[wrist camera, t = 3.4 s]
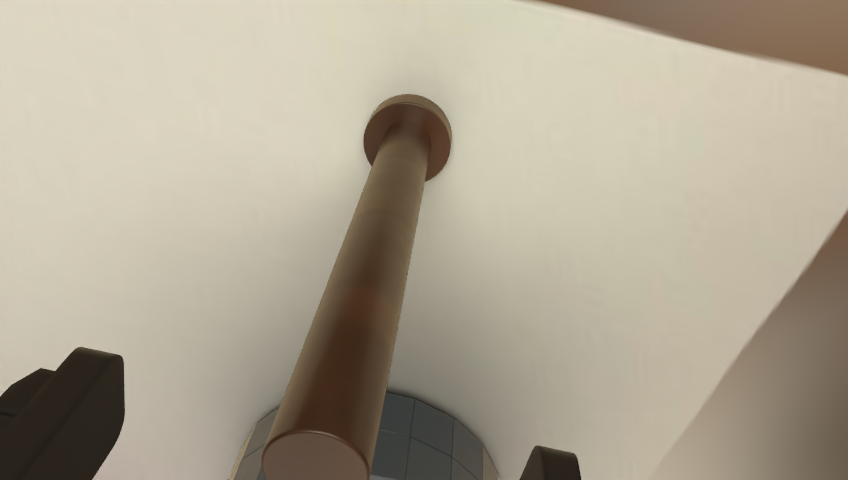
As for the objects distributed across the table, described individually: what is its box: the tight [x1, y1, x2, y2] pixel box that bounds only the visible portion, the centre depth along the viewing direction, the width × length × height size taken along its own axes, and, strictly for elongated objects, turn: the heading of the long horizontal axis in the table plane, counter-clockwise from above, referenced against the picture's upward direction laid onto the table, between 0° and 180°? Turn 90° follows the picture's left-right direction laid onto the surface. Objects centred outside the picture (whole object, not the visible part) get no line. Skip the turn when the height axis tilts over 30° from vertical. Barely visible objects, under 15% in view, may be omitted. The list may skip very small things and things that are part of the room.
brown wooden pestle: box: [261, 94, 452, 480], centre depth 19 cm, size 4×4×18 cm
